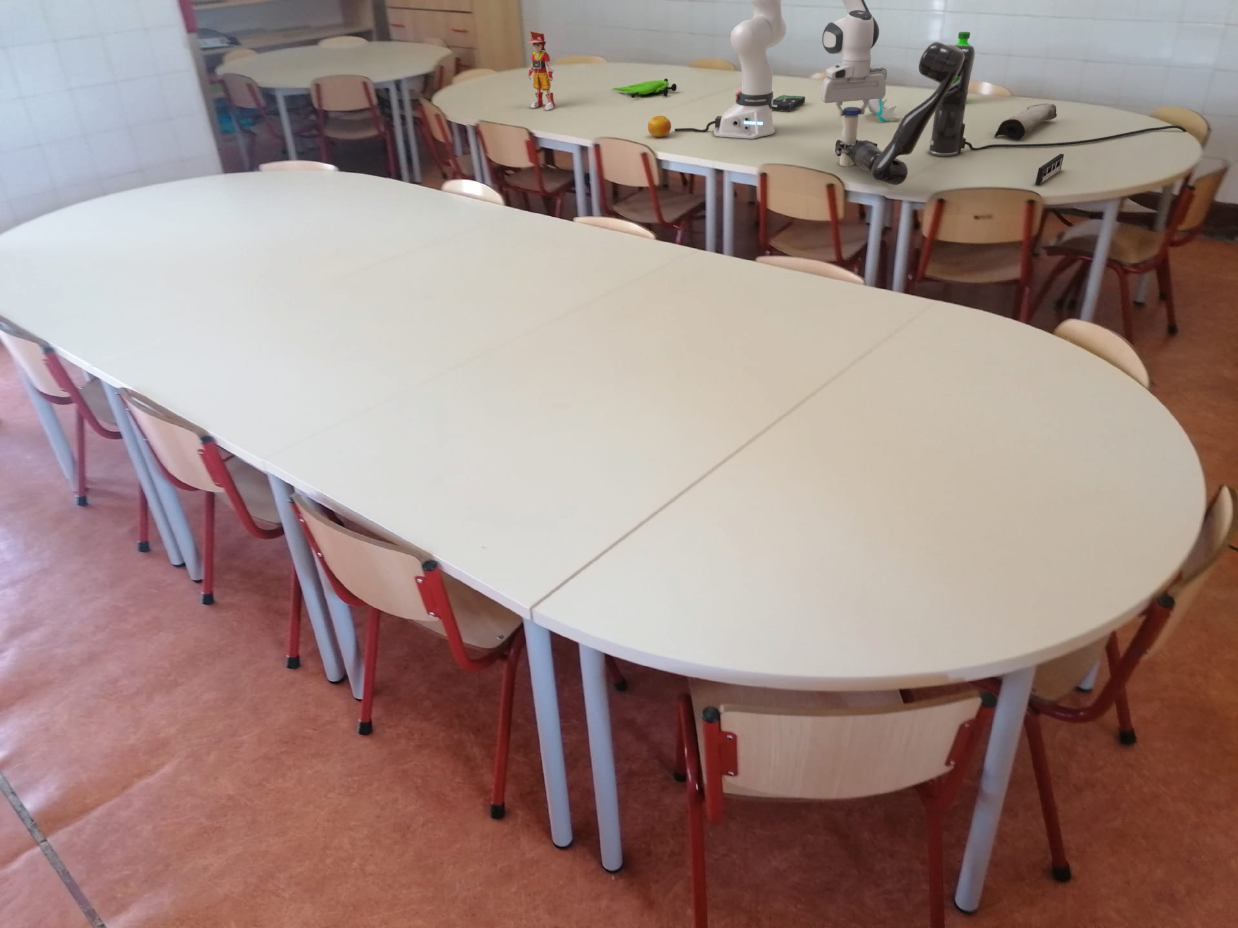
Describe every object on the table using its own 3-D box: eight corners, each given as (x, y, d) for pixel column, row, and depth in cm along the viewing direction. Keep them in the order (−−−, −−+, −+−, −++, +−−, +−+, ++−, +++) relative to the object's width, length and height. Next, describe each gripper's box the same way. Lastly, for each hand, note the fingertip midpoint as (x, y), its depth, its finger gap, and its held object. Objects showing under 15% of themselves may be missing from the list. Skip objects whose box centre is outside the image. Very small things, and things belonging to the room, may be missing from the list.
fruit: (641, 128, 333) (652, 109, 330) (648, 131, 340) (659, 112, 337) (658, 141, 331) (670, 121, 328) (665, 143, 339) (677, 124, 336)
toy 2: (686, 85, 398) (631, 84, 414) (685, 72, 395) (629, 72, 411) (651, 104, 381) (596, 103, 397) (650, 92, 378) (594, 91, 394)
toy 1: (525, 109, 381) (517, 32, 364) (534, 104, 388) (527, 28, 371) (550, 110, 377) (543, 32, 360) (559, 105, 384) (553, 28, 367)
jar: (846, 167, 294) (850, 114, 285) (836, 163, 298) (841, 111, 288) (857, 164, 296) (862, 112, 286) (847, 161, 299) (852, 109, 290)
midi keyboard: (1039, 185, 269) (1043, 168, 266) (1035, 184, 270) (1038, 168, 267) (1060, 170, 279) (1064, 154, 277) (1056, 169, 280) (1060, 153, 277)
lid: (839, 114, 288) (839, 109, 288) (851, 111, 291) (851, 106, 290) (851, 117, 285) (851, 112, 284) (863, 114, 287) (863, 109, 286)
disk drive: (790, 112, 355) (805, 103, 365) (791, 105, 353) (805, 96, 363) (766, 110, 360) (781, 101, 370) (766, 103, 358) (781, 94, 368)
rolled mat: (1024, 108, 329) (1048, 91, 321) (1038, 129, 330) (1062, 112, 321) (990, 131, 312) (1014, 113, 304) (1004, 153, 312) (1029, 136, 304)
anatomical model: (861, 90, 342) (887, 83, 342) (863, 118, 348) (889, 111, 348) (873, 100, 330) (900, 92, 329) (875, 128, 336) (902, 121, 335)
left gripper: (884, 64, 283) (879, 110, 291) (821, 69, 282) (817, 115, 290) (891, 68, 278) (886, 115, 286) (827, 73, 277) (823, 120, 285)
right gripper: (889, 141, 280) (866, 128, 294) (846, 146, 278) (825, 132, 292) (886, 165, 285) (864, 151, 298) (844, 170, 283) (823, 156, 297)
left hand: (851, 115), depth 288 cm, fingers closed on lid, 5 cm apart
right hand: (845, 142), depth 295 cm, fingers closed on jar, 4 cm apart
